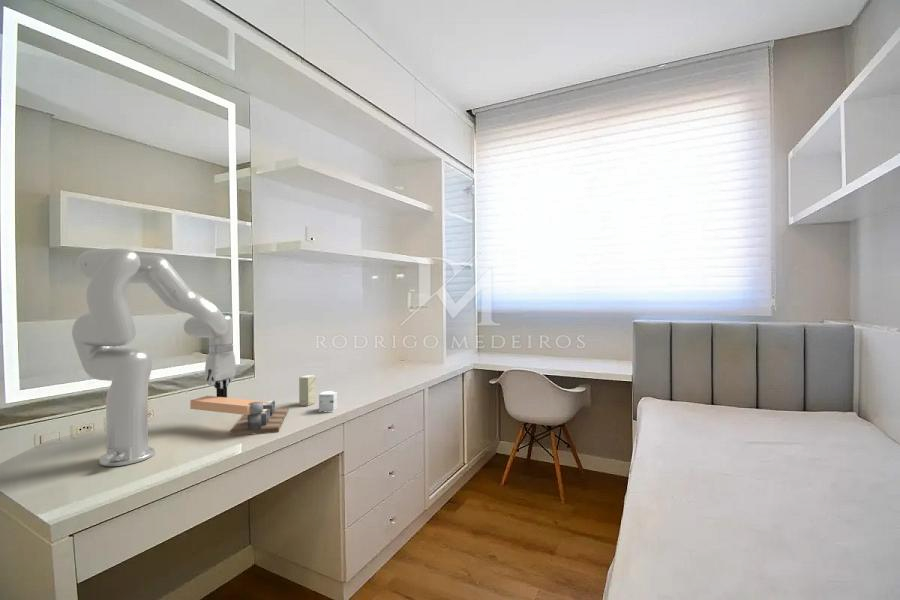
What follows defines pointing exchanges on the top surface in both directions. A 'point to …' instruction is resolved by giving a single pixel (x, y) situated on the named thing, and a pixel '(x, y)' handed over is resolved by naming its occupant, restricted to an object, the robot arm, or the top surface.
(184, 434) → the top surface
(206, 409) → the swing arm
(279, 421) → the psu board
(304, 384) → the skincare box
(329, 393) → the skincare box
